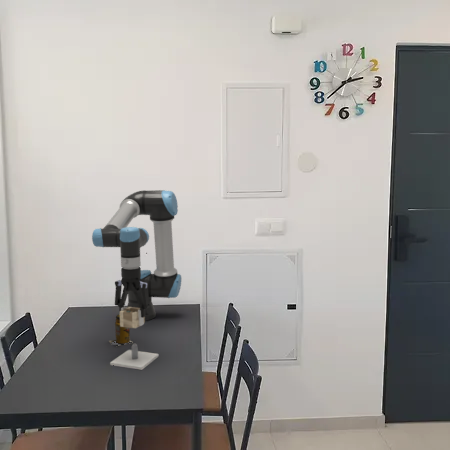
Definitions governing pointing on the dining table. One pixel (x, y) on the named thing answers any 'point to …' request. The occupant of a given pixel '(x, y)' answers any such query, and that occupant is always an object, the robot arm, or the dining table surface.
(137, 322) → the wooden hollow block
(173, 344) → the dining table surface
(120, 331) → the condiment
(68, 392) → the dining table surface
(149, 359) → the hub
